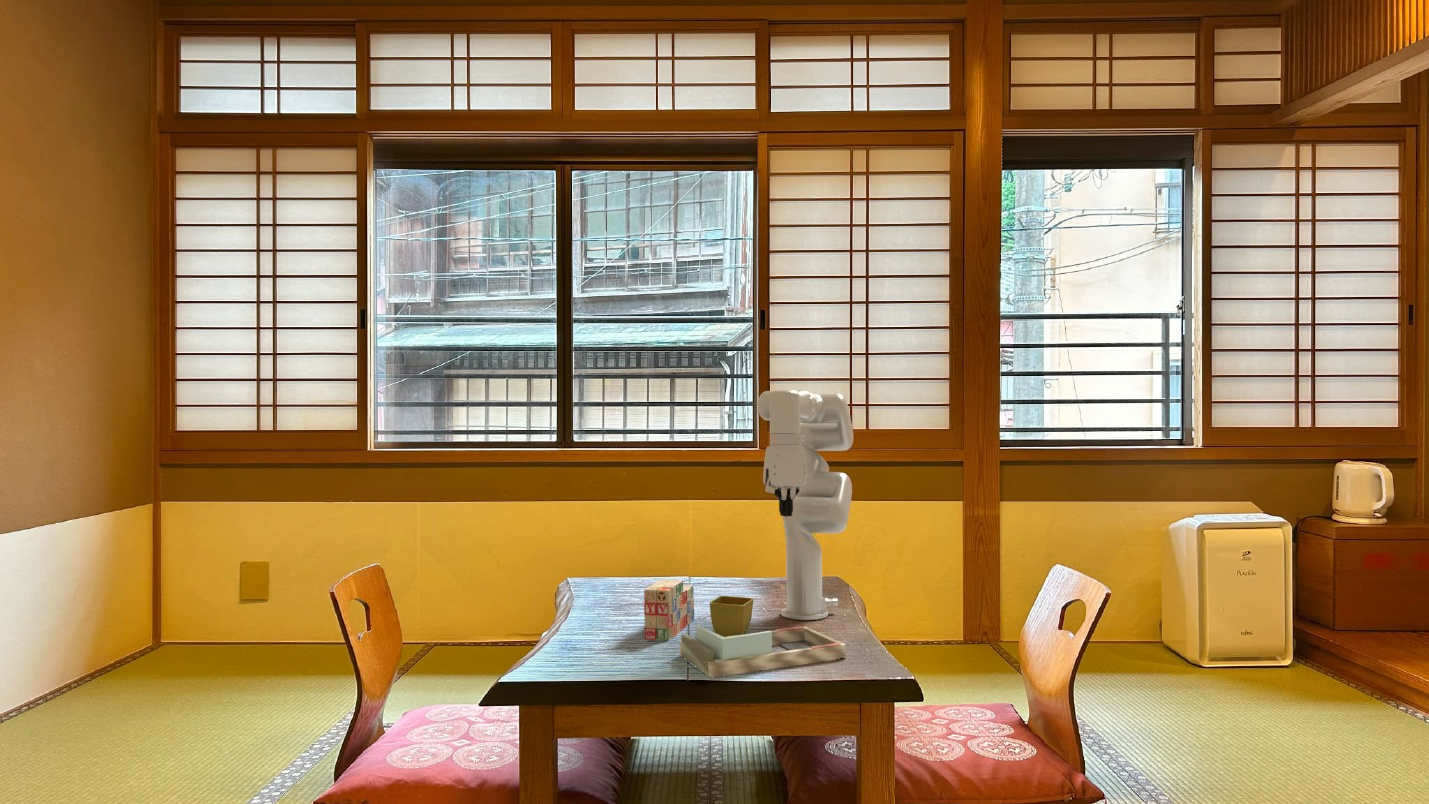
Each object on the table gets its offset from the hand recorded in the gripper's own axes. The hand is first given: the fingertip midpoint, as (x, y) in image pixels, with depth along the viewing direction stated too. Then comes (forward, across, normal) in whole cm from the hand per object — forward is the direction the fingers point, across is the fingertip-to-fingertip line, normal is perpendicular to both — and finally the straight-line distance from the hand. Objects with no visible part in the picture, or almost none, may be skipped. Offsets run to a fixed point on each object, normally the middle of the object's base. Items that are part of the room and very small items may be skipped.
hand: (786, 515), depth 202 cm
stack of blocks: (+29, +24, -18) cm, 42 cm away
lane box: (+29, +14, +14) cm, 35 cm away
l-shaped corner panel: (+29, +22, +16) cm, 40 cm away
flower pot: (+29, +13, -4) cm, 32 cm away
